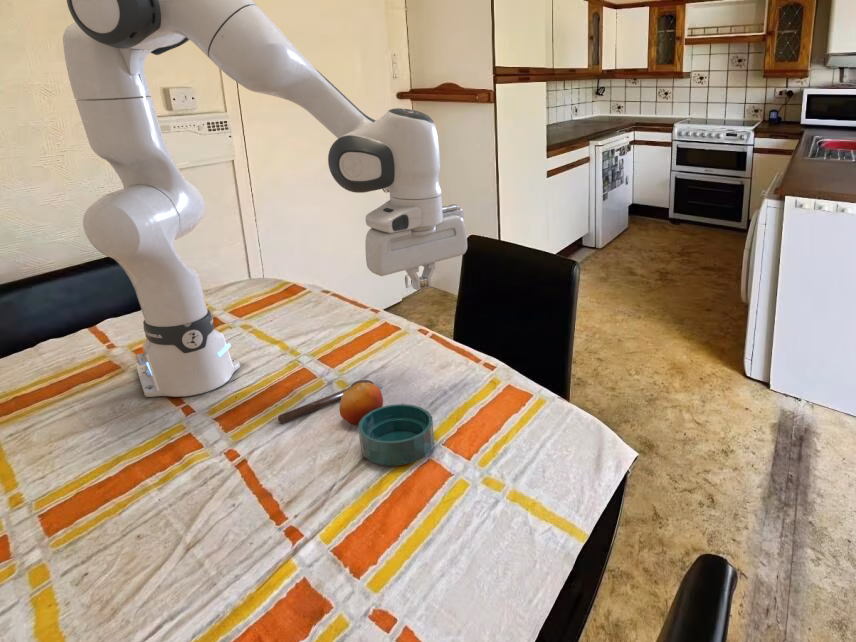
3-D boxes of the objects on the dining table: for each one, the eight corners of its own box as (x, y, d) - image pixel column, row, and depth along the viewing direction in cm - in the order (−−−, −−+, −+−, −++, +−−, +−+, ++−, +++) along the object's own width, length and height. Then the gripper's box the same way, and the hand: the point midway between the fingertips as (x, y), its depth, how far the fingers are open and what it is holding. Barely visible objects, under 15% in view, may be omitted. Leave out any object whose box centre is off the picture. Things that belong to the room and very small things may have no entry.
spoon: (273, 419, 114) (271, 412, 113) (366, 382, 127) (365, 375, 126) (284, 428, 111) (283, 421, 111) (378, 390, 124) (377, 383, 123)
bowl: (347, 447, 106) (344, 422, 104) (405, 420, 114) (403, 397, 111) (389, 478, 99) (386, 452, 96) (448, 447, 106) (447, 422, 104)
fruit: (385, 426, 109) (358, 390, 107) (351, 442, 112) (325, 407, 110) (400, 403, 116) (375, 369, 114) (368, 418, 119) (343, 385, 117)
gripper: (451, 199, 116) (453, 271, 123) (356, 217, 103) (365, 296, 110) (473, 205, 112) (475, 278, 119) (378, 224, 99) (386, 306, 106)
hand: (421, 287), depth 114 cm, fingers closed
